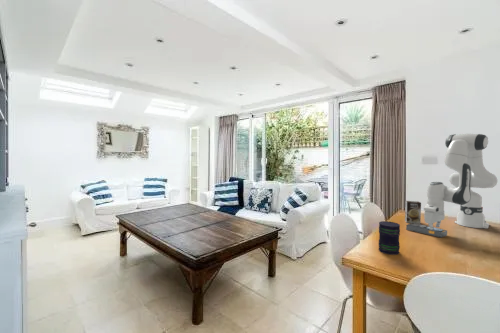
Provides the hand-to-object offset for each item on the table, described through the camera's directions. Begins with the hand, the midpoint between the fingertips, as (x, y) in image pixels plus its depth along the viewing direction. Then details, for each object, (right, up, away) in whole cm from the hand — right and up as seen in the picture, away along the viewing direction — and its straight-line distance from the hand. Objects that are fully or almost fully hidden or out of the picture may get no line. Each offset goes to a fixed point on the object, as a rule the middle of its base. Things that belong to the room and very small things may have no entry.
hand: (434, 228), depth 158 cm
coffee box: (+5, -3, +29) cm, 30 cm away
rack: (-3, -4, +4) cm, 6 cm away
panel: (0, -3, 0) cm, 3 cm away
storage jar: (-45, -6, -27) cm, 53 cm away
